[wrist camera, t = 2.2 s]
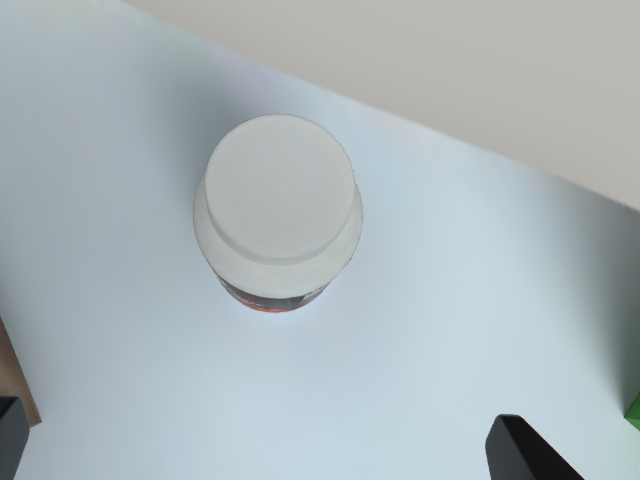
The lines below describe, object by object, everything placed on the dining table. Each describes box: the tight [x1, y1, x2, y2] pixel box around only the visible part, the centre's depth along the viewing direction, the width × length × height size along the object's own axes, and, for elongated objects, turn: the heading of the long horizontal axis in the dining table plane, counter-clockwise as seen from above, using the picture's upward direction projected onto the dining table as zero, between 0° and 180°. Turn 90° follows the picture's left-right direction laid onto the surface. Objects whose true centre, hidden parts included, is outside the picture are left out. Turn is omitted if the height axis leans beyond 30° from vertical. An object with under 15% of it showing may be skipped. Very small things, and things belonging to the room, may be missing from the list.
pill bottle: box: [193, 114, 363, 313], centre depth 18 cm, size 5×5×10 cm
